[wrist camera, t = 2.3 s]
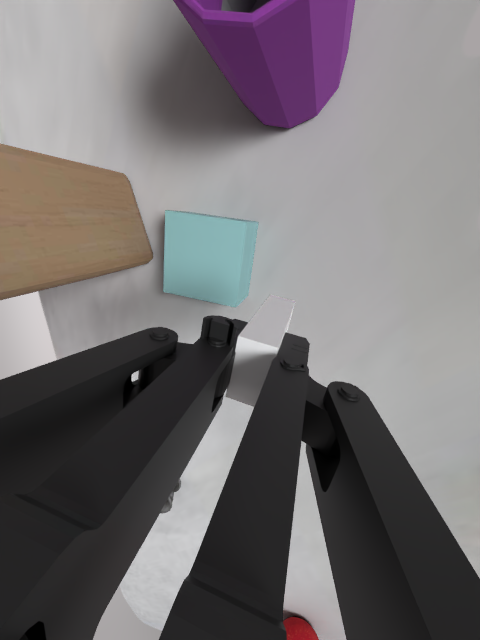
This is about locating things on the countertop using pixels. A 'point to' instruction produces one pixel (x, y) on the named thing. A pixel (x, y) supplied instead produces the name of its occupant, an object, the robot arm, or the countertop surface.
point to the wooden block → (64, 222)
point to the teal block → (208, 257)
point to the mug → (276, 51)
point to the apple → (299, 629)
